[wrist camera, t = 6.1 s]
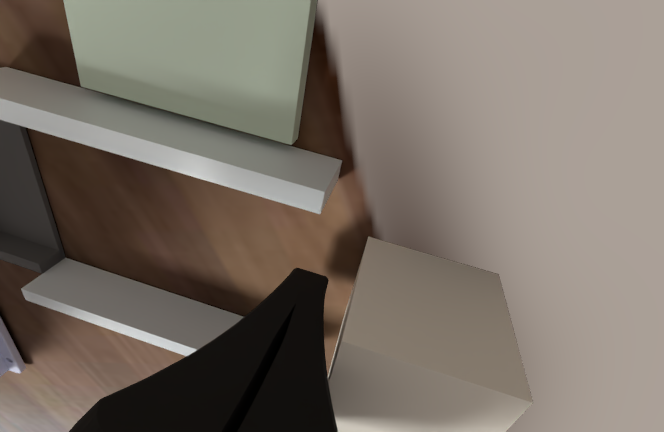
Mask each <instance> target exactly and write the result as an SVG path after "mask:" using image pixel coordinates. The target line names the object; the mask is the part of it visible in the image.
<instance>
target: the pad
mask: <svg viewBox="0 0 664 432" xmlns="http://www.w3.org/2000/svg"><path fill="white" fill-rule="evenodd" d="M63 1H64V6H65V11H66V16H67V21H68V26H69V31H70V35H71V40H72V45H73V50H74V55H75V60H76V65H77V70H78V75H79V80H80V84H81V87H84V88H88V89H92V90H95V91H99V92H102V93H106V94H110V95H113V96H117V97H120V98H124V99H127V100H131V101H135V102H138V103H142V104H145V105H149V106H153V107H156V108H160V109H163V110H167V111H171V112H174V113H178V114H181V115H185V116H189V117H192V118H196V119H199V120H203V121H207V122H210V123H214V124H217V125H221V126H225V127H228V128H232V129H235V130H239V131H242V132H246V133H250V134H253V135H257V136H260V137H264V138H268V139H271V140H275V141H278V142H282V143H286V144H289V145H292V144H293V143H294V142H295V141H296V140H297V139H298V134H299V127H300V120H301V113H302V106H303V99H304V92H305V85H306V78H307V71H308V64H309V57H310V50H311V43H312V36H313V29H314V22H315V15H316V8H317V1H318V0H63Z"/></svg>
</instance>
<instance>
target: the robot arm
mask: <svg viewBox="0 0 664 432" xmlns="http://www.w3.org/2000/svg"><path fill="white" fill-rule="evenodd" d="M328 281H329V280H328V278H327V277H326V276H322V275H319V274H316V273H313V272H310V271H306V270H303V269H300V268H296V269H294V270H293V271H292V272H291V273H290V275H289V276H288V277H287V278H286V279H285V280H284V281H283V282H282V283H281V284H280V285H279V286H278V287H277V288H276V289H275V290H274V291H273V292H272V293H271V294H270V295H269V296H268V297H267V298H266V299H265V300H264V301H262V302H261V303H260V304H259V305H258V306H257V307H256V308H255V309H253V310H252V311H251V312H250V313H248V314H247V315H246V316H245V317H243V318H242V319H241V320H240V321H239V322H237V323H236V324H235V325H233V326H232V327H231V328H229V329H228V330H227V331H225V332H224V333H222V334H221V335H219V336H218V337H217V338H215V339H214V340H212V341H211V342H209V343H207V344H206V345H204V346H203V347H201V348H200V349H198V350H196V351H195V352H193V353H192V354H190V355H188V356H186V357H185V358H183V359H181V360H180V361H178V362H176V363H174V364H172V365H170V366H168V367H166V368H165V369H163V370H161V371H159V372H157V373H155V374H153V375H151V376H150V377H148V378H145V379H143V380H141V381H139V382H137V383H135V384H133V385H130V386H128V387H126V388H124V389H122V390H120V391H117V392H115V393H113V394H111V395H109V396H106V397H104V398H102V399H100V400H99V401H98V402H97V403H96V404H95V405H94V406H93V407H92V408H91V409H90V410H89V411H88V412H87V413H86V414H85V415H84V416H83V417H82V418H81V419H80V420H79V421H78V422H77V423H76V424H75V425H74V426H73V428H72V429H71V430H70V431H69V432H338V429H337V425H336V420H335V415H334V411H333V406H332V401H331V396H330V390H329V384H328V377H327V369H326V360H325V349H324V322H323V315H324V299H325V293H326V289H327V285H328ZM25 369H26V366H25V364H24V362H23V360H22V358H21V356H20V354H19V352H18V350H17V348H16V346H15V344H14V342H13V340H12V338H11V336H10V334H9V332H8V330H7V328H6V327H5V325H4V323H3V321H2V319H1V317H0V377H1V376H2V375H3V374H4V373H6V372H7V371H8V370H10V371H13V372H16V373H21V372H22V371H23V370H25Z"/></svg>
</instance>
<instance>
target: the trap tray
mask: <svg viewBox="0 0 664 432" xmlns="http://www.w3.org/2000/svg"><path fill="white" fill-rule="evenodd" d="M64 258H66V257H65V254H64V251H63V247H62V244H61V241H60V238H59V235H58V231H57V228H56V225H55V222H54V218H53V215H52V212H51V209H50V205H49V202H48V199H47V196H46V192H45V189H44V186H43V183H42V180H41V176H40V173H39V170H38V167H37V163H36V160H35V157H34V154H33V150H32V147H31V144H30V141H29V138H28V134H27V131H26V128H25V127H23V126H20V125H16V124H13V123H10V122H6V121H3V120H0V260H3V261H6V262H9V263H12V264H15V265H18V266H21V267H24V268H27V269H30V270H33V271H36V272H39V273H42V274H43V273H44V272H46V271H47V270H49V269H50V268H51V267H53V266H54V265H56V264H57V263H59V262H60V261H62V260H63V259H64Z"/></svg>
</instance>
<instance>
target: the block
mask: <svg viewBox="0 0 664 432" xmlns="http://www.w3.org/2000/svg"><path fill="white" fill-rule="evenodd" d="M328 384H329V390H330V396H331V401H332V406H333V411H334V415H335V420H336V425H337V429H338V432H506V431H507V430H508V429H509V428H510V427H511V426H512V425H513V424H514V423H515V422H516V420H517V419H518V418H519V417H520V416H521V415H522V414H523V413H524V412H525V411H526V410H527V409H528V408H529V407H530V406H531V405H532V404H533V400H532V396H531V392H530V389H529V385H528V381H527V378H526V374H525V370H524V367H523V363H522V359H521V355H520V352H519V348H518V344H517V341H516V337H515V333H514V329H513V326H512V322H511V318H510V315H509V311H508V307H507V303H506V300H505V296H504V292H503V289H502V285H501V281H500V277H499V274H496V273H493V272H489V271H486V270H482V269H479V268H476V267H472V266H468V265H465V264H462V263H458V262H455V261H451V260H448V259H445V258H441V257H438V256H434V255H431V254H427V253H424V252H420V251H417V250H413V249H410V248H406V247H403V246H400V245H396V244H393V243H389V242H386V241H383V240H379V239H376V238H372V237H369V236H368V239H367V242H366V246H365V249H364V252H363V256H362V259H361V262H360V265H359V269H358V272H357V275H356V279H355V282H354V285H353V289H352V292H351V295H350V299H349V302H348V305H347V308H346V312H345V315H344V318H343V322H342V325H341V329H340V333H339V337H338V340H337V344H336V348H335V352H334V355H333V359H332V363H331V367H330V370H329V374H328Z"/></svg>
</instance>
